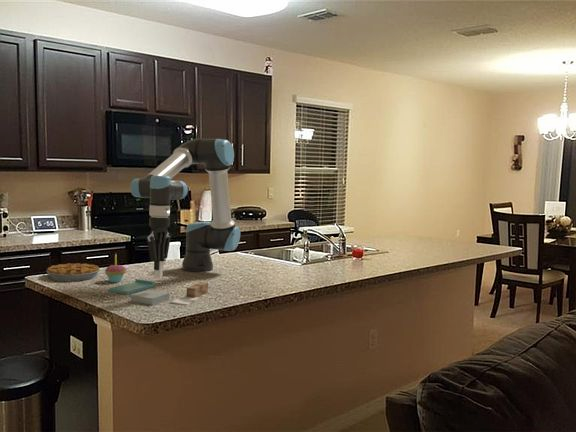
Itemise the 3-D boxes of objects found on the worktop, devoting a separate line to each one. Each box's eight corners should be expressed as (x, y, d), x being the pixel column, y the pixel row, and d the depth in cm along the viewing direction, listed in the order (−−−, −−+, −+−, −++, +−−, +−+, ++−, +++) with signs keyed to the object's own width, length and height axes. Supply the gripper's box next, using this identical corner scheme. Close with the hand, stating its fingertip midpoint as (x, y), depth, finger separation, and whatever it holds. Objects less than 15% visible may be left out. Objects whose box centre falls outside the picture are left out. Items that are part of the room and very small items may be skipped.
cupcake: (104, 279, 229) (105, 252, 228) (125, 278, 232) (125, 251, 231) (105, 283, 221) (105, 255, 220) (126, 283, 224) (127, 255, 223)
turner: (196, 291, 216) (196, 281, 215) (211, 292, 214) (212, 283, 213) (170, 303, 195) (170, 292, 195) (187, 305, 193) (187, 294, 193)
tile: (148, 289, 204) (130, 294, 195) (169, 293, 200) (152, 298, 191) (148, 296, 204) (130, 301, 195) (169, 300, 200) (152, 305, 191)
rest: (136, 283, 223) (136, 278, 223) (154, 286, 219) (154, 281, 219) (109, 291, 208) (109, 285, 208) (127, 294, 205) (127, 288, 205)
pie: (95, 270, 247) (95, 260, 246) (103, 280, 228) (103, 269, 227) (44, 273, 236) (44, 262, 236) (47, 283, 217) (47, 271, 217)
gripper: (156, 218, 192) (155, 282, 194) (178, 216, 204) (176, 276, 206) (140, 216, 195) (139, 279, 197) (162, 214, 207) (160, 274, 209)
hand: (158, 278), depth 201 cm, fingers closed
